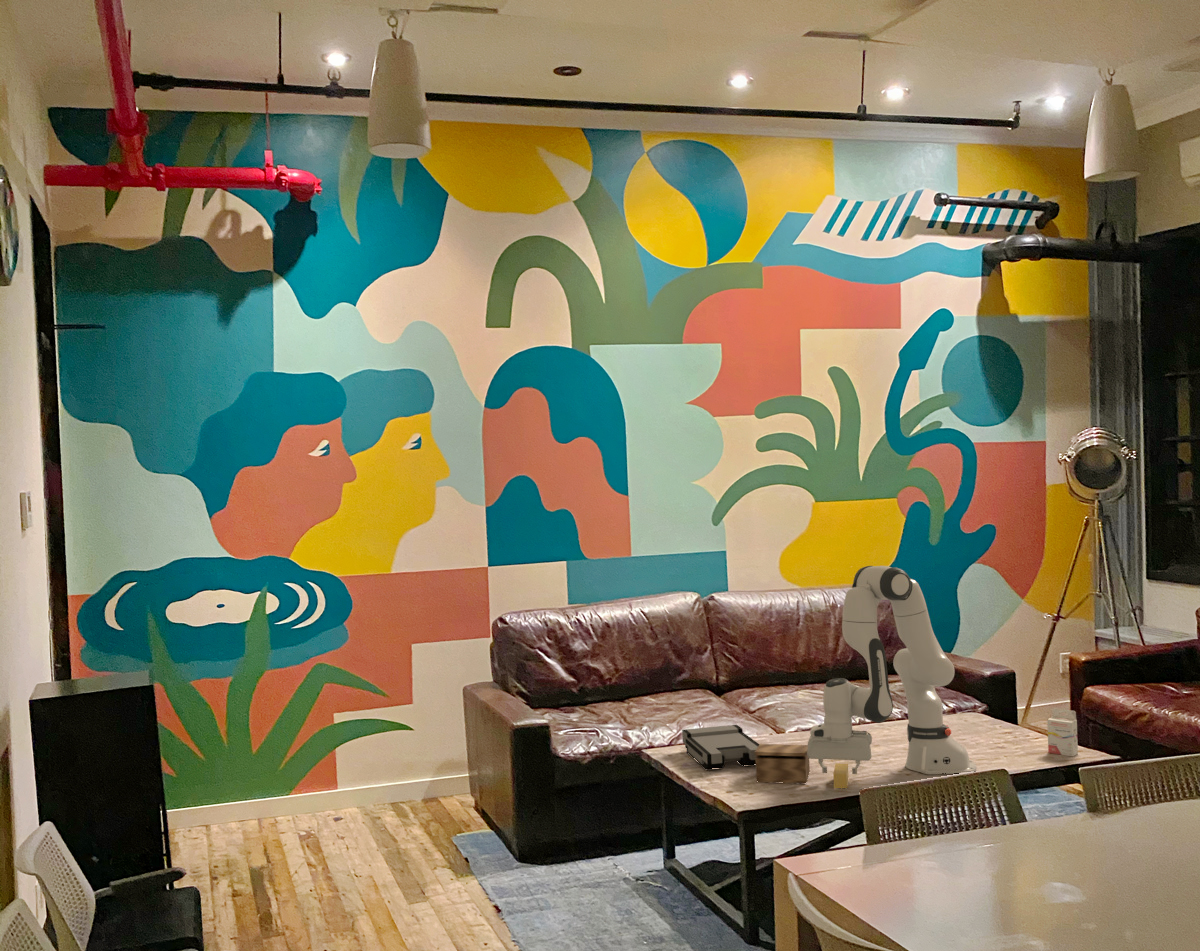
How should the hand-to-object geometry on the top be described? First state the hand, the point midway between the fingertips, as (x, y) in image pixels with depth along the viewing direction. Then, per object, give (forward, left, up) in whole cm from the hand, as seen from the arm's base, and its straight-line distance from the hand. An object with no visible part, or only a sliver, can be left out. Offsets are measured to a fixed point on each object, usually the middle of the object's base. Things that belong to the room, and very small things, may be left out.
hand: (839, 773), depth 356 cm
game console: (+42, -25, -4) cm, 49 cm away
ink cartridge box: (-72, -44, -4) cm, 85 cm away
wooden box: (+19, -5, -3) cm, 20 cm away
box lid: (+19, -5, +5) cm, 20 cm away
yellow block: (0, 0, -4) cm, 4 cm away
